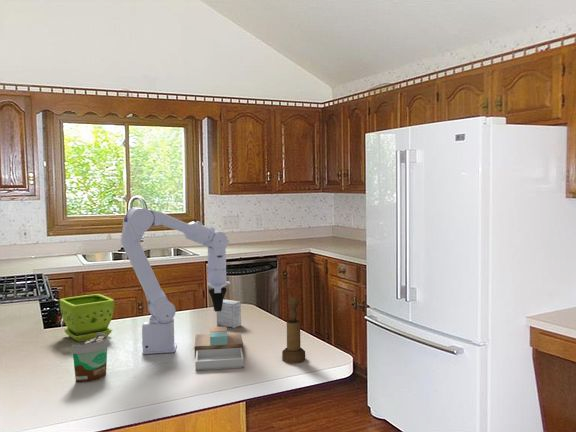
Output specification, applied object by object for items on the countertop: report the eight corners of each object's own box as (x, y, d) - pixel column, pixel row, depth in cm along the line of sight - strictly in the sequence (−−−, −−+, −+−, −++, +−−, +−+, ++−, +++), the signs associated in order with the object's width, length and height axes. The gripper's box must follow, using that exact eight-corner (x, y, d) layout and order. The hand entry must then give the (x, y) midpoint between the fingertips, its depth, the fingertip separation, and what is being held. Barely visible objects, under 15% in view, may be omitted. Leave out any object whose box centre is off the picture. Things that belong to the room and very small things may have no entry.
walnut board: (194, 358, 150) (194, 346, 150) (195, 345, 162) (195, 334, 162) (243, 355, 152) (243, 343, 152) (241, 343, 164) (240, 332, 164)
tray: (195, 370, 140) (195, 361, 140) (196, 358, 149) (196, 350, 149) (243, 367, 142) (243, 358, 142) (241, 356, 151) (241, 347, 151)
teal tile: (210, 345, 150) (210, 337, 150) (210, 340, 155) (210, 332, 155) (227, 344, 151) (227, 336, 151) (227, 339, 156) (226, 331, 156)
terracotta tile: (210, 339, 156) (210, 331, 156) (210, 335, 161) (210, 327, 161) (227, 339, 157) (226, 330, 156) (226, 334, 161) (226, 326, 161)
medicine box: (241, 325, 185) (241, 301, 184) (233, 328, 181) (233, 303, 181) (224, 322, 189) (223, 299, 189) (216, 325, 185) (215, 301, 185)
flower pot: (73, 345, 163) (72, 305, 163) (59, 336, 174) (57, 298, 173) (116, 336, 173) (115, 298, 172) (100, 328, 183) (99, 292, 182)
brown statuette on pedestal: (288, 364, 144) (288, 300, 143) (278, 358, 149) (277, 296, 148) (309, 360, 147) (309, 297, 146) (298, 354, 152) (297, 293, 151)
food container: (94, 386, 130) (93, 346, 129) (72, 384, 131) (70, 345, 130) (119, 369, 142) (118, 333, 141) (99, 367, 143) (98, 332, 142)
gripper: (230, 272, 159) (231, 315, 160) (228, 264, 173) (229, 305, 174) (207, 272, 158) (208, 316, 159) (207, 265, 172) (208, 306, 173)
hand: (217, 310), depth 166 cm, fingers closed
